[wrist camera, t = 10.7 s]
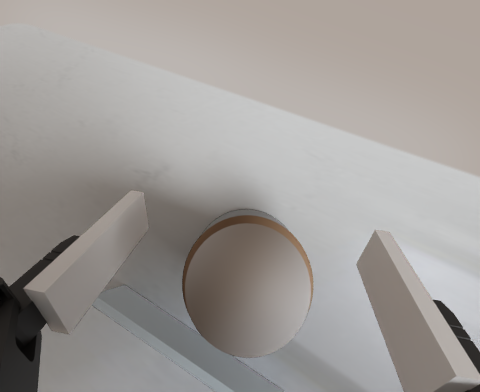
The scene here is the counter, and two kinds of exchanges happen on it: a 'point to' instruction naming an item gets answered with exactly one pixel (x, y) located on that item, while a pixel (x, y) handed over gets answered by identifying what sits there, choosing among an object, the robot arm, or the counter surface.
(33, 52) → the counter surface
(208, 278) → the pepper mill
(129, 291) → the acrylic wall
